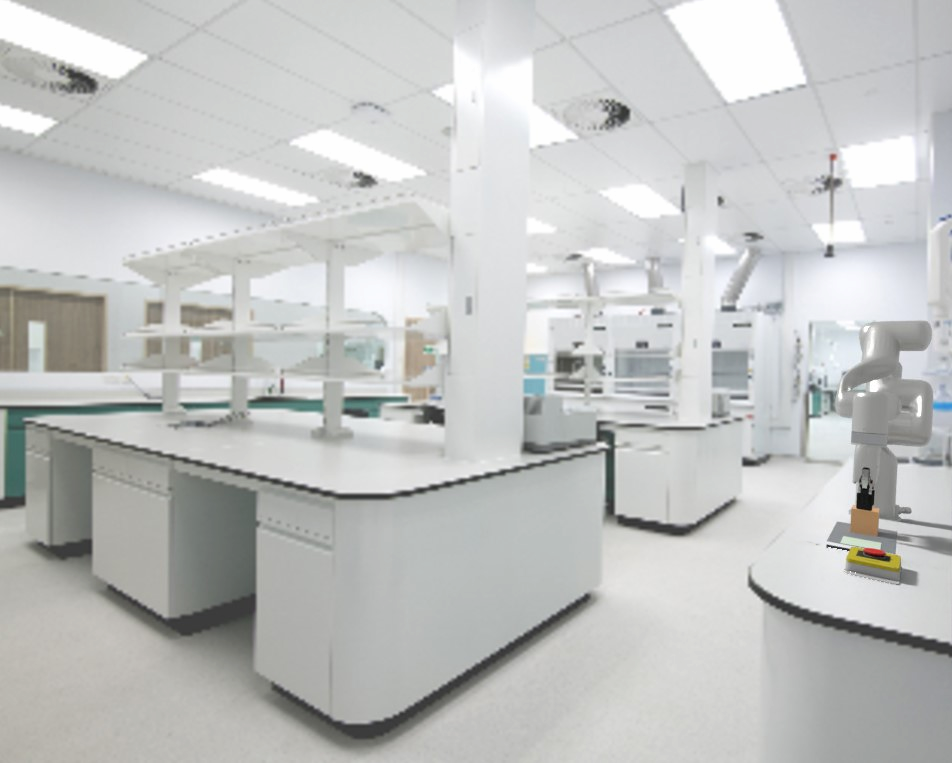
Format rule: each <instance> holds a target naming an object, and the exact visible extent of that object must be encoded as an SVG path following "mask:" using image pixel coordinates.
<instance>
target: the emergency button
mask: <svg viewBox="0 0 952 763" xmlns="http://www.w3.org/2000/svg"><path fill="white" fill-rule="evenodd" d="M849 549H850V551H849V552H847V553H848V554H847V555H846V558H845V566H844V570H845V571H846V572H845V571H844V570H843V573H844V572H845V573H847V574H846V575H848V574H851V575H850V576H853V575H855V576H854V577H857V576H860V577H859V578H862V577H864V578H863V579H866V578H868V579H867V580H871V579H872V581H875V580H877V581H876V582H880V581H881V582H880V583H884V582H885V584H889V583H890V585H894V584H896V585H895V586H899V585H900V583H901V574H902V570H903V569H902V568H903V567H902V557H901V555H898V554H892V553H886V552H884V551H882V550H878V549H874V548H860V547H855V546H850V548H849ZM850 571H851V573H850ZM855 572H856V574H855ZM845 573H844V574H845ZM898 584H899V585H898Z"/></svg>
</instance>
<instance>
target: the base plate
mask: <svg viewBox="0 0 952 763" xmlns="http://www.w3.org/2000/svg"><path fill="white" fill-rule="evenodd" d="M850 525H851V523H849V522H843V521H836V522H835V525H834V527H833V528H832V530H831V532H830V534H829V536H828V537H827V539H826V542H830V543H836V544H840V545H845V546H849V547H858V548H863V549H864V548H874V549H878V550H882V551H884V552H885V553H889V554H894V555H896V547H897V546H896V545H897V537H898V536H897V534H898V531H897V530H896V531H895V530H890V529H885V528H878V536H872V535H866V534H860V533H854V532H850ZM825 547H826V548H828V547H831V548H830V549H833V548H837V549H836V550H838V549H842V550H841V551H843V550H847V551H846V552H848V551H850V549H851V548H847V547H843V546H838V545H837V546H836V545H832V544H826V546H825Z"/></svg>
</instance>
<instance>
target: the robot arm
mask: <svg viewBox="0 0 952 763" xmlns="http://www.w3.org/2000/svg"><path fill="white" fill-rule="evenodd" d="M858 335H859V338H858V339H859V346H860V350H861V352H862V353H861V354H862V355H861V360H860V361H861V362H859V363H857V364H855V365H854V366H852V367H851V368H850V369H848V370H847V371H846V372H845V373H844V374H843V375H842V376H841V378H840V380H839V382H838V385H837V390H836V394H835V399H834V400H835V401H834V406H835V407H834V408H835V412H836V413H837V415H838V416H840V417H841V418H845V419H851V431H850V432H851V433H850V435H851V436H850V445H853V446H855V448H854V452H853V453H854V455H853V468H852V470H853V471H852V480H851V482H852V483H853V484H855V498H854V499H855V503H854V505H856V508H857V509H861V510H867V511H872V508H879V520H883V521H891V522H897V523H902V517H901V516H899V515H901V514H904V515H908V514H909V515H911V514H912V512H913V511H912V508H911V507H910V506H900V505H899V504H896V503H897V502H896V501H897V483H898V481H897V480H898V465H899V462H898V459H897V457H896V455H895V453H894V452H893V451H892V450H891V449H890V448H889V447H888V445H889V446H891V445H892V446H894V445H895V446H903V447H904V446H905V447H917V448H918V447H919V448H921V447H925V446H928V444H930V442H931V439H932V433H933V416H934V391H933V387H932V385H931V384H930V382H927V381H926V380H922V379H914V378H913V379H911V378H910V379H907V378H906V379H905V378H902V377H903V376H902V375H903V366H902V364H901V362H900V352H924V351H926V350H927V349H928V347H929V346H930V344H931V341H932V338H933V329H932V326H931V323H929V321H927V320H890V321H889V320H885V321H874V322H869V323H866V324H864V325H863V326H861V327H860V329H859V334H858ZM864 384H865V391H864V390H853V389H855V388H857V387H858V386H861V385H864ZM848 514H849V515H851V508H850V509H849V510H848Z"/></svg>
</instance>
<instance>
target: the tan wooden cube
mask: <svg viewBox="0 0 952 763" xmlns="http://www.w3.org/2000/svg"><path fill="white" fill-rule="evenodd" d="M850 509H851V514H850V524H851V525H850V532H854V533H860V534H866V535H872V536H878V528H879V525H880V519H879V508H872V511H867V510H861V509H857V508H856V505H855V504H852V506H851V508H850ZM879 529H880V528H879Z"/></svg>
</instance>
